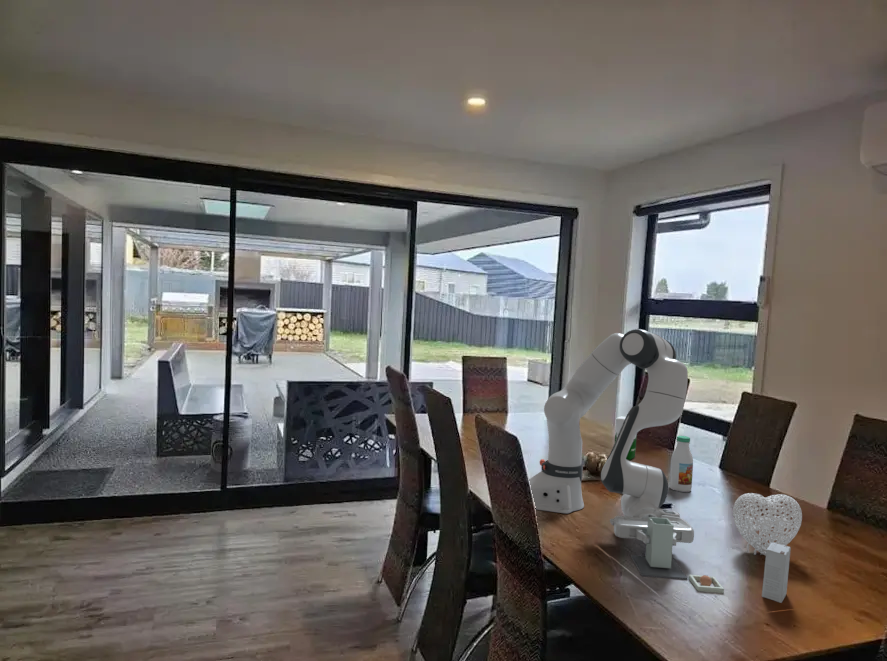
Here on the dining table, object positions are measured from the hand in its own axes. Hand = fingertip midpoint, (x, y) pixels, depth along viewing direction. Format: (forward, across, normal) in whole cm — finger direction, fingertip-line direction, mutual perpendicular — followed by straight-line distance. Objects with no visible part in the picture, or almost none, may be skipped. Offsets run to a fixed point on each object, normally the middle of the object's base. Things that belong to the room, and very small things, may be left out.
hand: (660, 541), depth 145 cm
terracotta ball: (+7, +9, +7) cm, 14 cm away
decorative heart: (-16, +33, +8) cm, 37 cm away
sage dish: (+7, +9, +8) cm, 14 cm away
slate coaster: (-1, 0, +8) cm, 8 cm away
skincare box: (+9, +24, +8) cm, 27 cm away
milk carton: (-115, +17, +8) cm, 116 cm away
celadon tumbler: (-1, 0, +6) cm, 6 cm away
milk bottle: (-72, +28, +8) cm, 78 cm away
